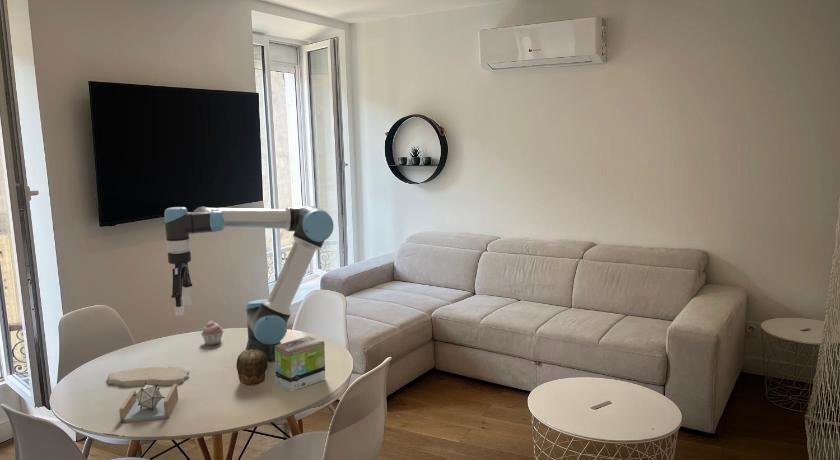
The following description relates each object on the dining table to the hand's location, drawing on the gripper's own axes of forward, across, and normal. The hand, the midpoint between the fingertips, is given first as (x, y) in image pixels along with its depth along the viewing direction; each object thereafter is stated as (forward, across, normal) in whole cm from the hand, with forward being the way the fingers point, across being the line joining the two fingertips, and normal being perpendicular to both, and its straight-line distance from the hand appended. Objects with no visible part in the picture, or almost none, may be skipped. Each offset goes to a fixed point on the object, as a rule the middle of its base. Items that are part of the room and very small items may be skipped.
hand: (183, 309), depth 223 cm
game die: (+26, +23, -8) cm, 36 cm away
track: (+27, +23, -8) cm, 36 cm away
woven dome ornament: (+27, +6, +23) cm, 36 cm away
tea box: (+27, +10, +40) cm, 49 cm away
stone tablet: (+27, -7, -15) cm, 32 cm away
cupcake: (+27, -42, +2) cm, 50 cm away
